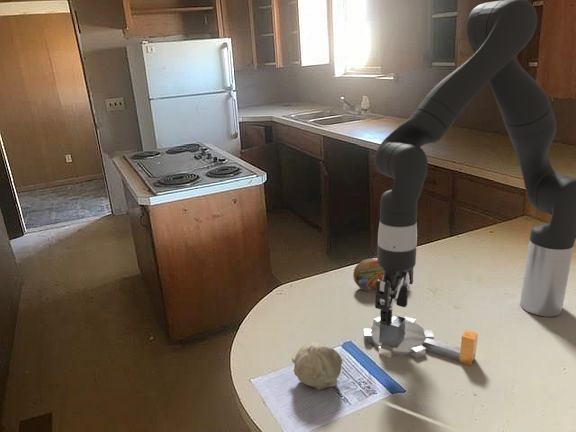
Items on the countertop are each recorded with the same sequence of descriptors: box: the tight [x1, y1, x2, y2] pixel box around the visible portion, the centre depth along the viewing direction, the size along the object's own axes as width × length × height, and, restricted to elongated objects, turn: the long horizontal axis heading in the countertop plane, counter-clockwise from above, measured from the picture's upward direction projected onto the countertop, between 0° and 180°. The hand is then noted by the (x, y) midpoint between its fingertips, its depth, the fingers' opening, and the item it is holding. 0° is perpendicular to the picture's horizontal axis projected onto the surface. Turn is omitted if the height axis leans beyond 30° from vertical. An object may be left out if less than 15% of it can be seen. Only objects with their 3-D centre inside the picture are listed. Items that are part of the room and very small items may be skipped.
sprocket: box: [363, 316, 435, 359], centre depth 107 cm, size 15×14×2 cm
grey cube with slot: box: [379, 314, 405, 348], centre depth 103 cm, size 4×4×5 cm
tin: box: [352, 257, 385, 292], centre depth 131 cm, size 15×3×8 cm, turn 105°
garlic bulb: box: [291, 341, 343, 391], centre depth 93 cm, size 9×8×10 cm
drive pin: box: [424, 329, 479, 367], centre depth 100 cm, size 3×10×6 cm, turn 56°
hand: (394, 314), depth 102 cm, fingers open, 8 cm apart
